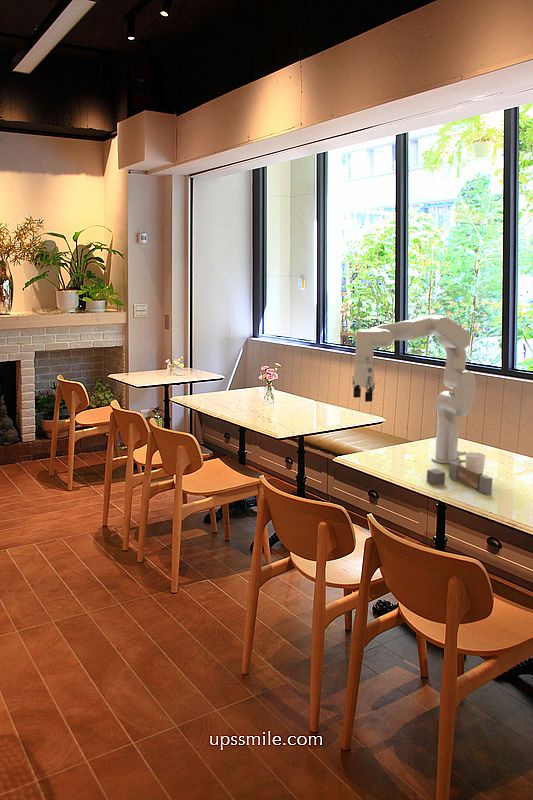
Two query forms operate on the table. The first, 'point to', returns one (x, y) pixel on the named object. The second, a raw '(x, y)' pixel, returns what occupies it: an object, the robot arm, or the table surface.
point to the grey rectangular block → (435, 477)
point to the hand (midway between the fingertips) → (362, 399)
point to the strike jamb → (454, 470)
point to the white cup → (475, 461)
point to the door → (469, 476)
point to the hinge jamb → (485, 485)
